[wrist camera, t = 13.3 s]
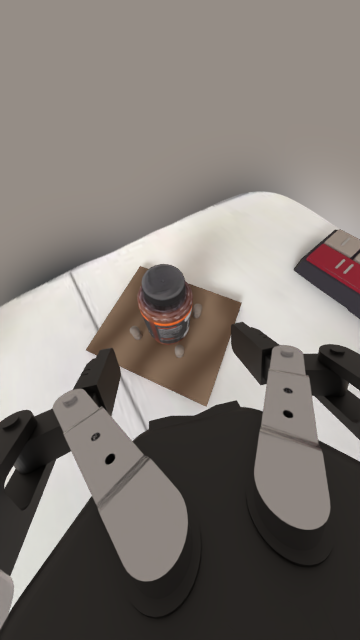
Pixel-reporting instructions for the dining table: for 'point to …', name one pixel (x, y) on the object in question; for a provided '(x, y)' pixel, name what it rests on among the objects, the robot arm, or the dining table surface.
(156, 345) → the pin tray
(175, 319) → the supplement bottle
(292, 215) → the dining table surface
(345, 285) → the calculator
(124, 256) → the dining table surface
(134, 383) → the dining table surface
